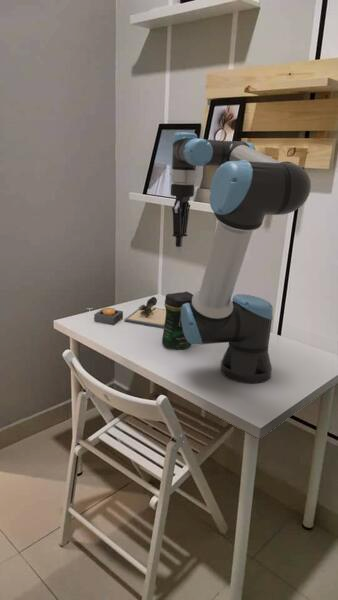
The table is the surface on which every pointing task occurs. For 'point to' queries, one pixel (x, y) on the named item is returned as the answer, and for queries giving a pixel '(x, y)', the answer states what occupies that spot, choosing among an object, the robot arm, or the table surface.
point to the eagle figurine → (149, 306)
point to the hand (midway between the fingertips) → (178, 255)
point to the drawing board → (148, 318)
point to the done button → (109, 311)
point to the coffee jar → (175, 321)
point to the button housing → (108, 317)
